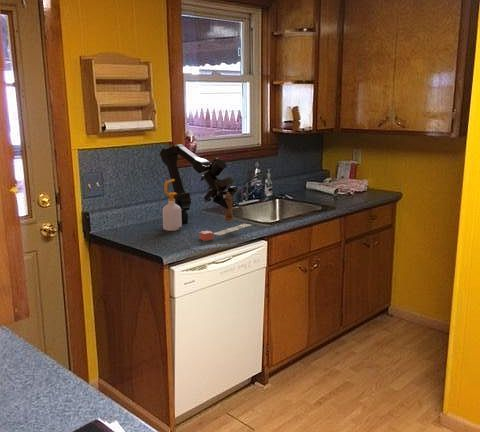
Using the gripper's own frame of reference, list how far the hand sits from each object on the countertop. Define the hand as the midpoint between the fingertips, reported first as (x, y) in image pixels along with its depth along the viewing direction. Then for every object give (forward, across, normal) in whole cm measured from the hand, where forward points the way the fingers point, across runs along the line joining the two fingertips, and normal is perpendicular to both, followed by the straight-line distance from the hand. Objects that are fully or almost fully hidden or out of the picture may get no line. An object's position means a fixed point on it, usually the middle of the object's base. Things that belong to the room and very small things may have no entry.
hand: (230, 207), depth 245 cm
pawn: (+3, 0, +5) cm, 6 cm away
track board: (+8, +3, +10) cm, 13 cm away
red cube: (+10, -18, +8) cm, 22 cm away
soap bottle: (-11, -12, +29) cm, 33 cm away
